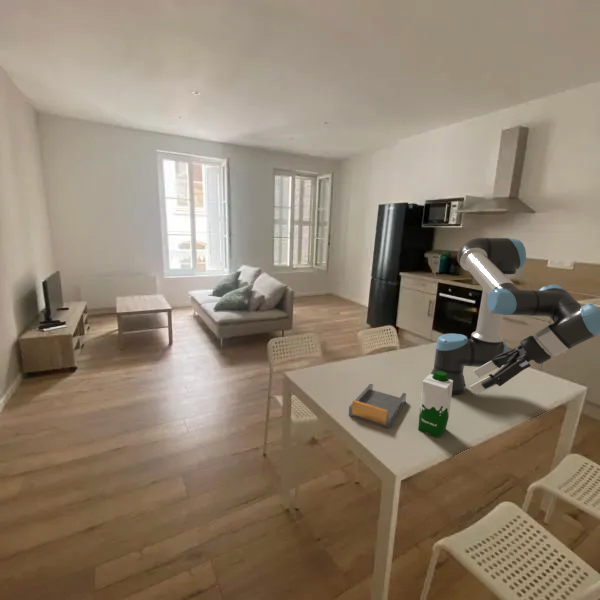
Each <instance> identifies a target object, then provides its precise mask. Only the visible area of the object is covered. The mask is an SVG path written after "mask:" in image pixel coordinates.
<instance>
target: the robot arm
mask: <svg viewBox="0 0 600 600" xmlns="http://www.w3.org/2000/svg"><path fill="white" fill-rule="evenodd" d="M456 257H457V262H458V264H459V266H460V267H461V268H462V269H463V270H464V271H467V272H469V274H470V275H472V277H473V278H474V280H476V282H477V283H478V284H479V285H480V287H481V288H482V294H481V300H480V306H479V311H478V316H477V317H478V318H477V323H476V324H477V325H476V328H475V331H473V332H472V333H471V335H470V338H468V336H467V335H464V334H461V333H444V334H442V335H440V336H438V338H437V339H436V345H435V353H434V362H433V363H434V364H433V369H432V370H431V372H430V374H433V375H434V371H437V370H439V371H443V372H446V373H447V379H450V380H453V386H452V395H453V396H455V395H462V394H464V393H465V392H466V389H467V388H466V387H467V386H466V382H465V381H466V380H465V377H464V368H465V367H475V369H473V370H472V371H473V373H474V374H475V375H476V376H477V377H478V378H479V379H480V378H481V377H484V376H485V375H487V374H488V376H486V377H485V378H483V379H481V380H478V381H477V382H475V383H473V384H471V385H470V386H469V388H470V389H471V391H472V392H473V393H474V394H475V395H479V394H481V393H483V392H485V391H486V390H488V389H491V388H493V387H494V386H496V385H497V386H498V387H502V386H503V385H504V384H506V383H507V382H508V381H509V380H510V381H511V379H513V378H515V376H517V375H518V374H519V373H521V372H523V371H524V370H526V369H528V368H530V367H531V364H530V362H531V361H534V362H535V363H536V364H538V365H540V364H543V363H545V362H547V361H550V360H551V358H552V356H553V357H556V356H559V355H560V354H566V353H567V351H568V350H571V349H572V348H575V346H577V345H580V344H582V343H584V342H586V341H588V340H590V339H593V338H594V337H598V336H599V335H600V309H599V307H597V306H596V305H595V304H593V303H586V304H585V305H581V303H579V302H578V300H577V299H576V298H575V297H573V296H572V294H571V293H570V292H569V291H568V290H566V289H565V288H564V287H562V286H561V285H558V284H548V285H546V286H542V287H541V288H539V289H538V290H536V289H520V288H519V287H518V286H516V284H515V283H514V282H513V281H512V280H511V278H512V277H513V276H515V275H516V273H517V270H519V269H521V268H523V267H524V265H525V263H526V260H527V249H526V248H525V246H524V243H523V242H522V241H521V240H520V239H518V238H510V237H475V238H472V239H469V240H467V241H466V242H464V243H463V244H462V245H461V246H460V248H459V249H458V252H457V256H456ZM504 316H527V317H528V316H529V317H547V318H550V319H551V320H552V321H553V322H552V323H550V324H549V325H546V326H545V327H543V328H541V329H539V330H538V331H536V332H534V335H530V336H528V337H525V338H524V339H521V340H520V345H518V346H516V347H515V348H511V349H510V350H508V346H507V344H506V343H505V342H504V338H503V337H502V336H501V335H500V334H501V330H502V323H503V318H504ZM476 367H477V368H476ZM496 369H498V370H497V371H496V372H495V373H494V374H492V373H491V372H493V371H495V370H496ZM452 395H451V396H452Z"/></svg>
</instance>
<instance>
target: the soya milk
mask: <svg viewBox="0 0 600 600" xmlns="http://www.w3.org/2000/svg"><path fill="white" fill-rule="evenodd" d="M421 385H422V386H421V393H420V394H421V396H420V403H419V404H420V405H419V414H418V428H417V430H418V431H421V432H424V433H426V434H429V435H431V436H433V437H435V436H436V438H438V439H439V438H441V436H442V435H443V433H444V432H445V430H446V429H447V425H448V422H449V417H450V410H451V409H450V408H451V402H452V386H453V380H450V379H447V373H446V372H443V371H439V370H437V371H434V375H433V374H431V373H429V374H428V375H427V376H426V377H425V378H424V379H423V380H422V383H421Z"/></svg>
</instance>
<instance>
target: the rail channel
mask: <svg viewBox="0 0 600 600" xmlns="http://www.w3.org/2000/svg"><path fill="white" fill-rule="evenodd" d="M373 388H374V384H373V383H370V384H368V385H367V387H366V388H365V389H364V390H363V391H362V392H361V393H360V394H359V395H358V396H357V398H355V399H353V400H352V403H350V405H349V406H348V416H349V417H353V418H355V419H358V420H362V421H363V422H364V421H365V422H367V423H370V424H373V425H376V426H380V427H382V428H385V429H388V430H390V428H391V427H392V425H393V423H394V422H395V420H396V418H397V417H398V415H399V413H400V412H401V410H402V408H403V407H404V405H405V403H406V400H407V393H406V392H403V393H401V395H400V397H399V396H397V395H392V394H389V393H385V392H381V391H378V390H374V389H373Z"/></svg>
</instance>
